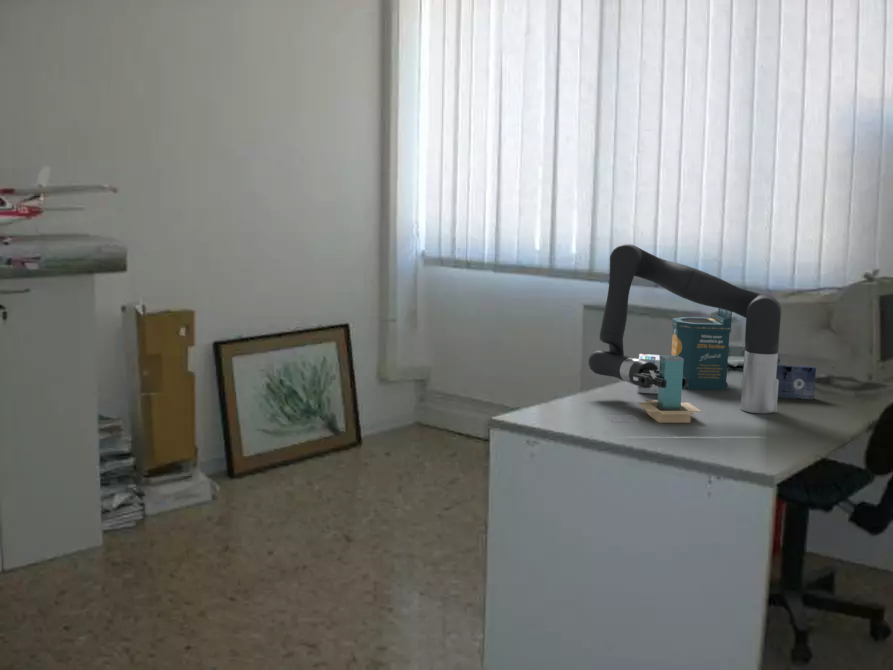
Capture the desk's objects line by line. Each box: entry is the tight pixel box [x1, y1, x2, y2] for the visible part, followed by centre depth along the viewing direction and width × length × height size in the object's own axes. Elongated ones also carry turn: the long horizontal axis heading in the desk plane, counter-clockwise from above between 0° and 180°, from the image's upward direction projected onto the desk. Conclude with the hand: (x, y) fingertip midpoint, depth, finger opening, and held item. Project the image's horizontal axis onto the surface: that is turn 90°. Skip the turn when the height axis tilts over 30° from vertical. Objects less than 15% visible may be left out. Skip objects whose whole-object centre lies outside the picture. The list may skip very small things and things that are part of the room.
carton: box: [636, 399, 702, 424], centre depth 283 cm, size 15×17×4 cm
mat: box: [604, 414, 642, 423], centre depth 281 cm, size 8×8×1 cm
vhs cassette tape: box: [776, 364, 817, 400], centre depth 317 cm, size 18×3×10 cm, turn 80°
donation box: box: [670, 308, 733, 391], centre depth 332 cm, size 16×16×28 cm
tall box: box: [657, 354, 684, 411], centre depth 282 cm, size 5×5×17 cm
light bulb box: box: [636, 353, 660, 395], centre depth 321 cm, size 11×7×11 cm, turn 168°
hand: (675, 383), depth 279 cm, fingers closed on tall box, 6 cm apart
